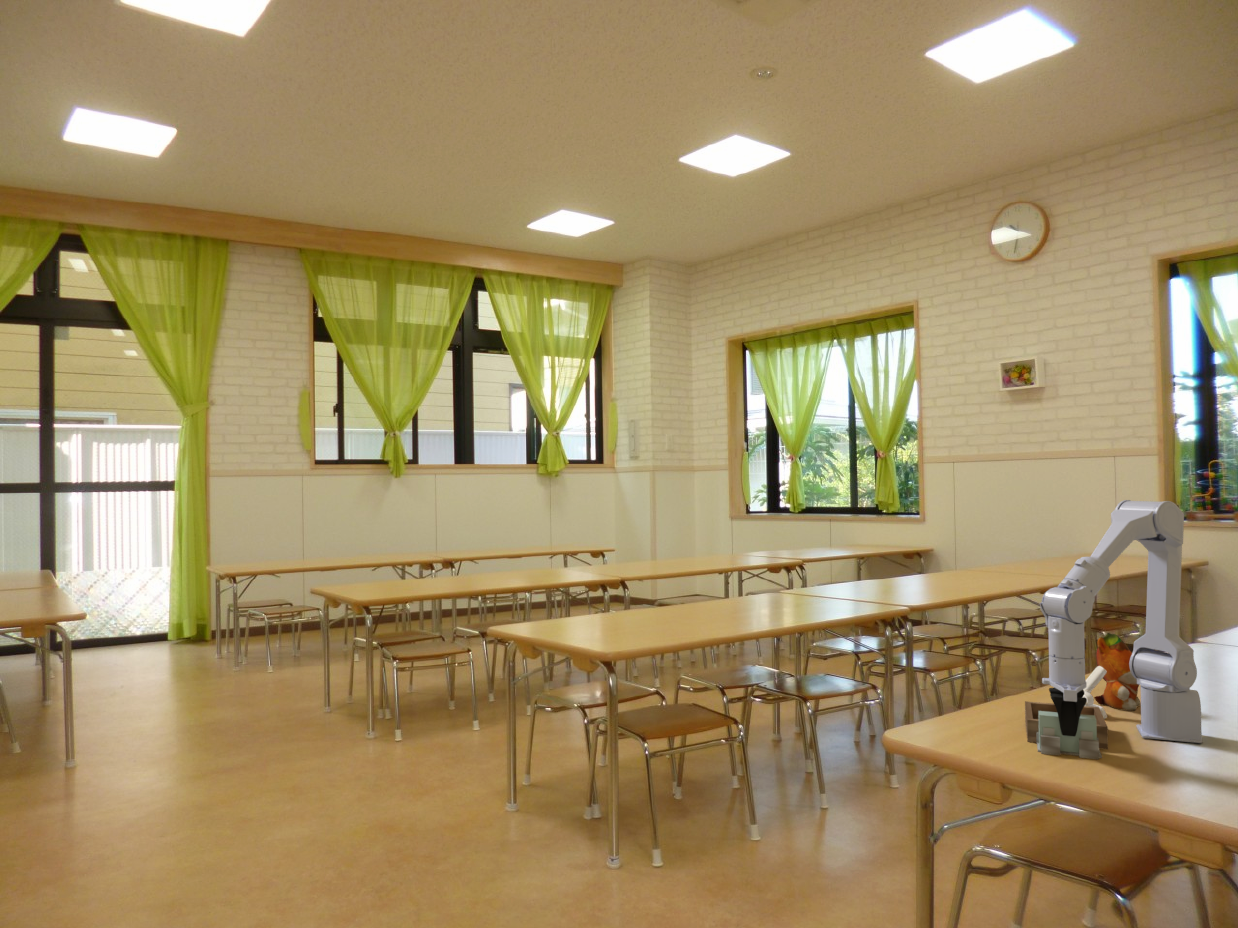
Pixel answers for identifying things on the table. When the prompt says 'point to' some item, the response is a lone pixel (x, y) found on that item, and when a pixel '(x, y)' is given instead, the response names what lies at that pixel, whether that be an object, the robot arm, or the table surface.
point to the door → (1067, 743)
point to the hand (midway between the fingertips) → (1068, 732)
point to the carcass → (1053, 742)
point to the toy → (1116, 674)
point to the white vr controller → (1091, 684)
